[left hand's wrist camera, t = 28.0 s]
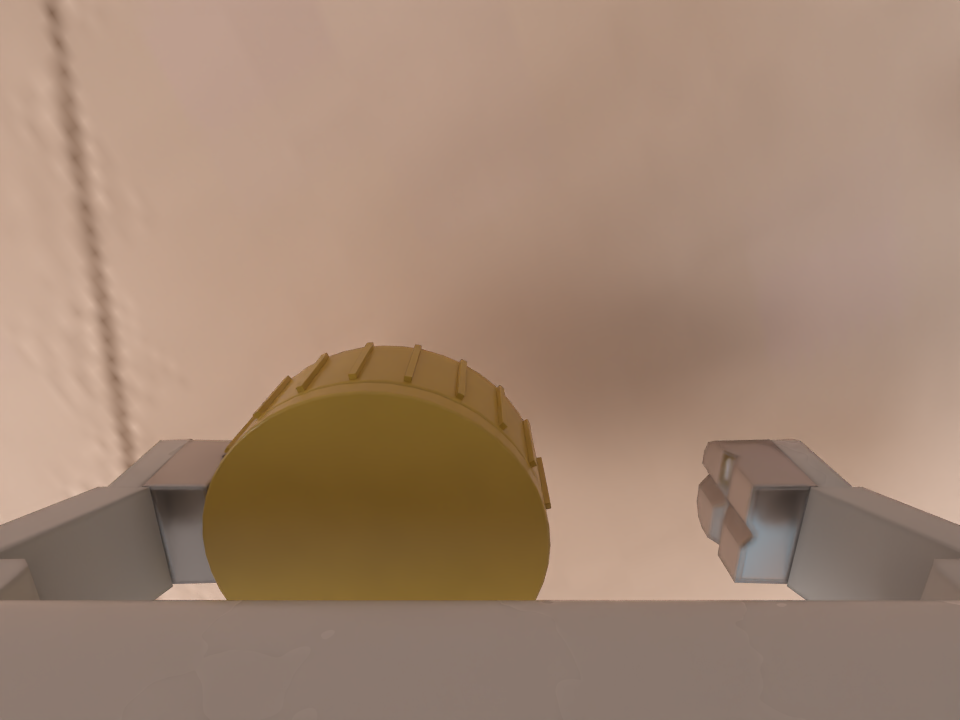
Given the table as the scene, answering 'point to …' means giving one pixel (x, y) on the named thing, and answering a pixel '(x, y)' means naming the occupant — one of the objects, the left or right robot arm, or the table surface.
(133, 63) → the table surface
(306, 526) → the lid
